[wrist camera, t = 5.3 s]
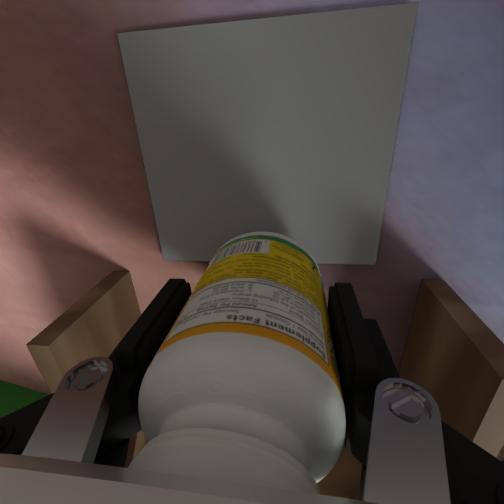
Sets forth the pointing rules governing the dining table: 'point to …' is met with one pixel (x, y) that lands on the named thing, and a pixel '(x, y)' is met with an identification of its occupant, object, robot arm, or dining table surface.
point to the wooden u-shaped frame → (412, 368)
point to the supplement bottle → (247, 374)
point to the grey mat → (271, 128)
